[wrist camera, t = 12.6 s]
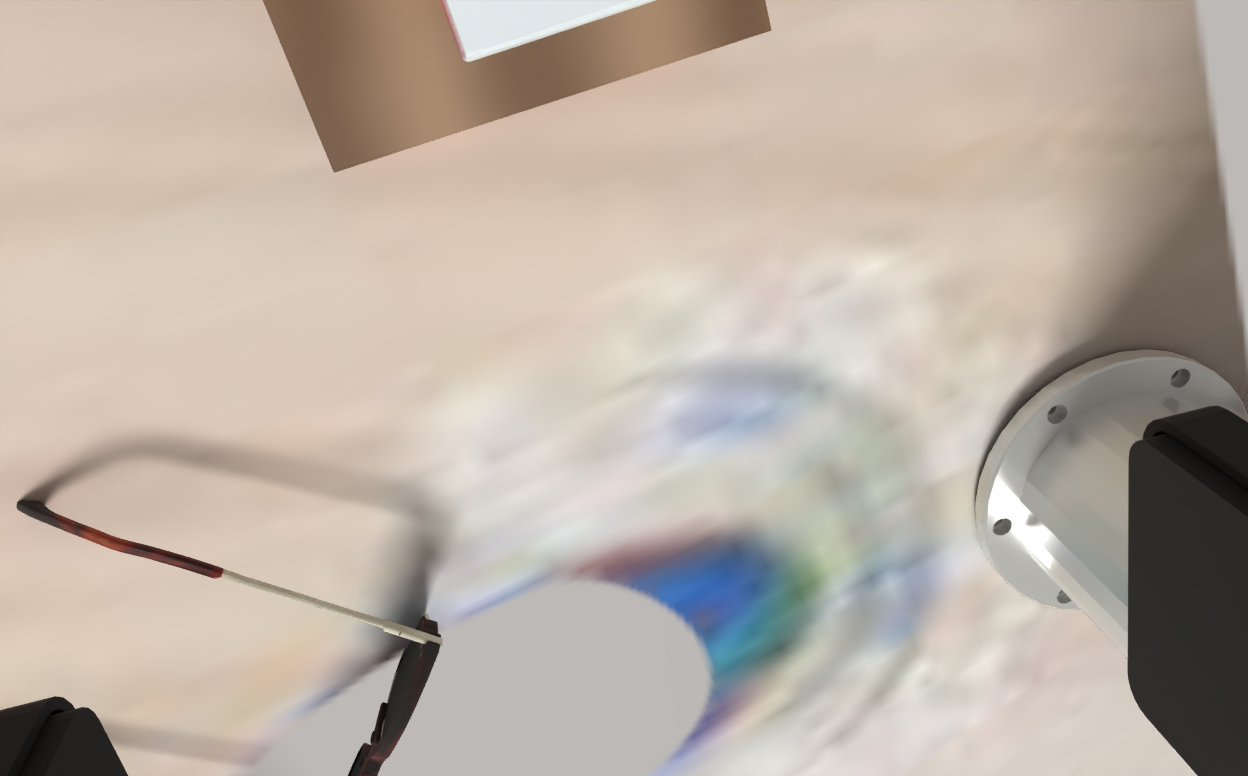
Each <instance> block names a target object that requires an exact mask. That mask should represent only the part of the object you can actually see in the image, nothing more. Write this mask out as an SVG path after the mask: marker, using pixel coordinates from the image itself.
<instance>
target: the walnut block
mask: <svg viewBox="0 0 1248 776" xmlns="http://www.w3.org/2000/svg"><path fill="white" fill-rule="evenodd" d="M263 2H264V4H265V6H266V9H267V11H268V14H269V16H270V19H271V21H272V23H273V26H274V28H275V31H276V33H277V36H278V38H279V40H280V43H281V45H282V48H283V50H284V52H285V55H286V57H287V60H288V62H289V65H290V67H291V69H292V72H293V74H294V77H295V79H296V82H297V84H298V86H299V89H300V91H301V94H302V96H303V99H304V101H305V103H306V106H307V108H308V111H309V113H310V116H311V118H312V120H313V123H314V125H315V128H316V130H317V133H318V135H319V137H320V140H321V142H322V145H323V147H324V150H325V152H326V154H327V157H328V159H329V162H330V164H331V167H332V169H333V171H334V173H335V172H338V171H341V170H344V169H347V168H350V167H353V166H356V165H359V164H362V163H365V162H369V161H372V160H375V159H378V158H381V157H384V156H387V155H390V154H393V153H396V152H399V151H402V150H405V149H408V148H412V147H415V146H418V145H421V144H424V143H427V142H430V141H433V140H436V139H439V138H442V137H445V136H448V135H451V134H455V133H458V132H461V131H464V130H467V129H470V128H473V127H476V126H479V125H482V124H485V123H488V122H491V121H494V120H498V119H501V118H504V117H507V116H510V115H513V114H516V113H519V112H522V111H525V110H528V109H531V108H534V107H537V106H541V105H544V104H547V103H550V102H553V101H556V100H559V99H562V98H565V97H568V96H571V95H574V94H577V93H580V92H584V91H587V90H590V89H593V88H596V87H599V86H602V85H605V84H608V83H611V82H614V81H617V80H620V79H623V78H627V77H630V76H633V75H636V74H639V73H642V72H645V71H648V70H651V69H654V68H657V67H660V66H663V65H667V64H670V63H673V62H676V61H679V60H682V59H685V58H688V57H691V56H694V55H697V54H700V53H703V52H706V51H710V50H713V49H716V48H719V47H722V46H725V45H728V44H731V43H734V42H737V41H740V40H743V39H746V38H749V37H753V36H756V35H759V34H762V33H765V32H768V31H771V26H770V21H769V17H768V12H767V7H766V2H765V0H656V1H653V2H650V3H647V4H644V5H641V6H638V7H635V8H632V9H629V10H626V11H623V12H620V13H617V14H614V15H611V16H608V17H605V18H602V19H598V20H595V21H592V22H589V23H586V24H583V25H580V26H577V27H574V28H571V29H568V30H565V31H562V32H559V33H556V34H553V35H550V36H547V37H544V38H541V39H538V40H535V41H532V42H529V43H526V44H523V45H520V46H517V47H514V48H511V49H508V50H504V51H501V52H498V53H495V54H492V55H489V56H486V57H483V58H480V59H477V60H474V61H471V62H466V61H465V60H463V58H462V56H461V55H460V52H459V50H458V47H457V44H456V42H455V39H454V37H453V34H452V32H451V29H450V27H449V24H448V22H447V19H446V17H445V14H444V12H443V9H442V7H441V4H440V1H439V0H263Z"/></svg>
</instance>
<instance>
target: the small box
mask: <svg viewBox="0 0 1248 776" xmlns="http://www.w3.org/2000/svg"><path fill="white" fill-rule="evenodd" d="M439 1H440V4H441V7H442V9H443V12H444V14H445V17H446V19H447V22H448V24H449V27H450V29H451V32H452V34H453V37H454V39H455V42H456V44H457V47H458V50H459V52H460V55H461V56H462V58H463V60H465V61H466V62H471V61H474V60H477V59H480V58H483V57H486V56H489V55H492V54H495V53H498V52H501V51H504V50H508V49H511V48H514V47H517V46H520V45H523V44H526V43H529V42H532V41H535V40H538V39H541V38H544V37H547V36H550V35H553V34H556V33H559V32H562V31H565V30H568V29H571V28H574V27H577V26H580V25H583V24H586V23H589V22H592V21H595V20H598V19H602V18H605V17H608V16H611V15H614V14H617V13H620V12H623V11H626V10H629V9H632V8H635V7H638V6H641V5H644V4H647V3H650V2H653V1H656V0H439Z"/></svg>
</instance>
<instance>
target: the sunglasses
mask: <svg viewBox="0 0 1248 776" xmlns="http://www.w3.org/2000/svg"><path fill="white" fill-rule="evenodd" d="M17 509H18V510H19V511H21V512H23V513H25V514H26V515H28V516H30V517H33V518H35V519H37V520H40V521H42V522H44V523H47V524H49V525H52V526H54V527H57V528H59V529H62V530H64V531H67V532H69V533H72V534H74V535H77V536H79V537H82V538H84V539H87V540H89V541H92V542H95V543H97V544H100V545H102V546H105V547H107V548H110V549H113V550H116V551H119V552H123V553H127V554H132V555H136V556H140V557H144V558H148V559H152V560H155V561H159V562H162V563H165V564H169V565H172V566H176V567H179V568H183V569H186V570H189V571H192V572H195V573H198V574H202V575H205V576H208V577H211V578H219V577H222V578H225V579H228V580H231V581H234V582H237V583H241V584H244V585H247V586H250V587H253V588H256V589H260V590H263V591H266V592H270V593H273V594H276V595H279V596H283V597H286V598H289V599H292V600H296V601H299V602H302V603H306V604H309V605H312V606H315V607H319V608H322V609H325V610H328V611H331V612H334V613H337V614H340V615H343V616H346V617H350V618H353V619H356V620H359V621H362V622H365V623H368V624H371V625H374V626H377V627H381V628H383V631H385V632H388V633H391V634H394V635H397V636H400V637H403V638H407V639H410V640H411V642H410V644H409V646H408V648H407V651H405V652H404V653H403V654H402V656H401V658H400V661H399V664H398V666H397V670H396V673H395V676H394V679H393V683H392V686H391V690H390V693H389V697H388V702H387V703H382V704H381V706H380V710H379V714H378V718H377V722H376V727H375V731H373V733H372V735H371V744H372V745H369V744H368V743H364V744H363V745H362V746H361V748H360V750H359V751H358V753H357V756H356V758H355V760H354V762H353V764H352V767H351V769H350V771H349V774H348V776H377V775H378V772H379V770H380V767H381V765H382V763H383V762H384V761H385V759H387V758H388V757H389V756H390V754H391V753H392V751H393V749H394V748H395V746H396V744H397V742H398V741H399V739H400V737H401V735H402V733H403V732H404V730H405V728H406V726H407V724H408V722H409V719H410V717H411V716H412V713H413V711H414V709H415V707H416V705H417V703H418V700H419V698H420V696H421V694H422V691H423V689H424V687H425V684H426V682H427V680H428V677H429V675H430V672H431V670H432V667H433V665H434V662H435V660H436V657H437V655H438V653H439V649H440V648H441V647H442V638H441V635H440V634H438V625H437V622H435V621H432V620H429V616H428V614H425V613H423V614H422V615H421V619H420V622H419V624H418V626H417V628H416V629H413V628H410V627H406V626H403V625H400V624H397V623H394V622H391V621H388V620H382V619H379V618H375V617H372V616H369V615H366V614H362V613H359V612H356V611H353V610H350V609H347V608H344V607H341V606H338V605H334V604H331V603H328V602H325V601H322V600H319V599H315V598H312V597H309V596H306V595H303V594H300V593H296V592H293V591H290V590H287V589H284V588H281V587H277V586H274V585H271V584H268V583H265V582H261V581H258V580H255V579H252V578H248V577H245V576H242V575H239V574H236V573H234V572H231V571H228V570H225V569H223V568H220V567H218V566H214V565H211V564H208V563H205V562H202V561H199V560H196V559H193V558H190V557H186V556H183V555H180V554H176V553H173V552H169V551H166V550H162V549H159V548H155V547H151V546H148V545H144V544H139V543H135V542H131V541H127V540H124V539H120V538H117V537H114V536H111V535H109V534H106V533H104V532H101V531H99V530H96V529H94V528H91V527H89V526H86V525H83V524H81V523H78V522H75V521H73V520H71V519H68V518H66V517H63V516H61V515H58V514H56V513H54V512H52V511H51V510H49V509H48V508H47V507H46V506H44V505H43V504H41V503H40V502H37V501H26V500H21V501H18V502H17Z"/></svg>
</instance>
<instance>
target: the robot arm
mask: <svg viewBox="0 0 1248 776" xmlns="http://www.w3.org/2000/svg"><path fill="white" fill-rule="evenodd" d="M975 512H976V528H977V532H978V536H979V539H980V543H981V547H982V549H983V551H984V552H985V554H986V556H987V558H988V560H989V561H990V563H991V565H992V566H993V567H994V568H995V570H996V571H997V572H998V573H999V574H1000V575H1001V577H1002V578H1003V579H1004V580H1005V581H1006V583H1007V584H1009V585H1010V586H1011V587H1012V588H1014V589H1015V590H1016V591H1017V592H1019V593H1020V594H1021V595H1022V596H1024V597H1026V598H1028V599H1030V600H1033V601H1035V602H1037V603H1039V604H1041V605H1044V606H1048V607H1052V608H1056V609H1062V610H1082V611H1083V613H1084V614H1085V615H1086V616H1087V617H1088V618H1089V619H1090V620H1091V621H1092V622H1093V623H1094V624H1095V625H1096V626H1097V627H1098V628H1099V630H1100V631H1101V632H1102V633H1103V634H1104V635H1105V636H1106V637H1107V638H1108V639H1109V640H1110V641H1111V642H1112V643H1113V644H1114V645H1115V647H1116V648H1117V649H1118V650H1119V651H1120V652H1121V653H1122V654H1123V655H1124V656H1125V657H1126V658H1127V659H1128V680H1129V684H1130V688H1131V691H1132V693H1133V696H1134V698H1135V701H1136V702H1137V704H1138V706H1139V708H1140V709H1141V711H1142V712H1143V713H1144V715H1145V716H1146V717H1147V719H1148V720H1149V721H1150V722H1151V723H1152V724H1153V725H1154V726H1155V728H1156V729H1157V730H1158V731H1159V732H1160V733H1161V734H1162V736H1163V737H1164V738H1165V739H1166V740H1167V741H1168V742H1169V744H1170V745H1171V746H1172V747H1173V748H1174V749H1175V750H1176V752H1177V753H1178V754H1179V755H1180V756H1181V757H1182V758H1183V759H1184V761H1185V762H1186V763H1187V764H1188V765H1189V766H1190V767H1191V769H1192V770H1193V771H1194V772H1195V773H1196V774H1197V775H1198V776H1248V414H1247V412H1246V409H1245V406H1244V404H1243V402H1242V400H1241V399H1240V397H1239V396H1238V394H1237V393H1236V392H1235V390H1234V389H1233V387H1232V386H1231V385H1230V384H1229V383H1228V382H1227V381H1225V380H1224V379H1223V378H1222V377H1221V376H1219V375H1218V374H1217V373H1216V372H1214V371H1213V370H1211V369H1209V368H1208V367H1206V366H1204V365H1202V364H1201V363H1199V362H1197V361H1195V360H1193V359H1192V358H1188V357H1185V356H1182V355H1179V354H1176V353H1173V352H1170V351H1159V350H1148V349H1143V350H1134V351H1124V352H1118V353H1114V354H1111V355H1107V356H1104V357H1100V358H1097V359H1093V360H1091V361H1089V362H1087V363H1085V364H1083V365H1080V366H1078V367H1076V368H1074V369H1072V370H1070V371H1068V372H1066V373H1064V374H1063V375H1062V376H1060V377H1059V378H1057V379H1056V380H1054V381H1053V382H1051V383H1050V384H1048V385H1047V386H1045V387H1044V388H1042V389H1041V390H1040V391H1039V392H1038V393H1037V394H1036V395H1035V396H1034V397H1032V398H1031V399H1030V400H1029V401H1028V402H1027V403H1026V404H1025V405H1024V406H1023V407H1022V408H1021V409H1020V410H1019V411H1018V412H1017V413H1016V415H1015V416H1014V417H1013V418H1012V420H1011V421H1010V422H1009V423H1008V425H1007V426H1006V427H1005V428H1004V430H1003V431H1002V432H1001V434H1000V436H999V438H998V439H997V441H996V443H995V445H994V446H993V448H992V450H991V452H990V453H989V455H988V458H987V460H986V463H985V466H984V468H983V471H982V474H981V477H980V479H979V485H978V491H977V496H976V502H975ZM0 776H128V774H127V773H126V771H125V769H124V767H123V765H122V763H121V761H120V759H119V757H118V755H117V753H116V751H115V749H114V747H113V746H112V744H111V742H110V740H109V738H108V736H107V734H106V732H105V730H104V728H103V726H102V724H101V722H100V720H99V719H98V717H97V716H96V714H95V713H94V712H93V711H92V710H90V709H89V708H85V707H81V708H78V709H75V708H74V707H73V705H72V704H71V703H70V702H69V701H67V700H66V699H65V698H62V697H56V696H55V697H51V698H47V699H43V700H39V701H35V702H31V703H27V704H23V705H19V706H15V707H11V708H7V709H3V710H0Z"/></svg>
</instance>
